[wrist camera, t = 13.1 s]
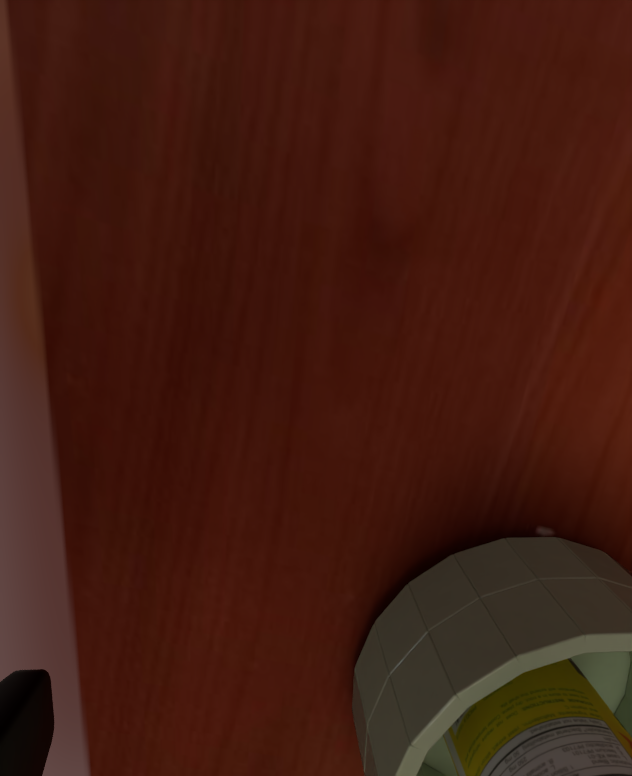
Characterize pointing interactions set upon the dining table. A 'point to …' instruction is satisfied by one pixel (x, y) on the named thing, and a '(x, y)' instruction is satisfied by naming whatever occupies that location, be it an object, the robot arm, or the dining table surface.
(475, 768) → the supplement bottle
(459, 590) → the ceramic bowl
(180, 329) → the dining table surface
